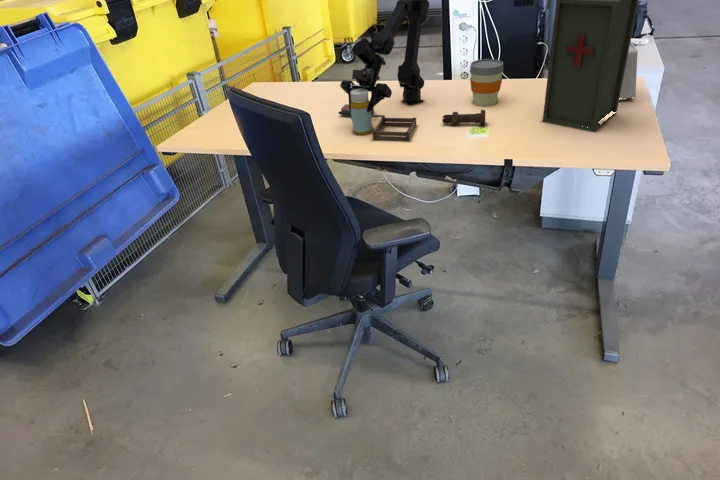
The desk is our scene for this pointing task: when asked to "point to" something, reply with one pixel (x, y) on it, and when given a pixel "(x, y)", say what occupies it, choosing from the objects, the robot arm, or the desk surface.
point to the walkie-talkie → (347, 112)
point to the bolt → (465, 118)
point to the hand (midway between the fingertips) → (358, 110)
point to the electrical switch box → (630, 74)
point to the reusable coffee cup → (486, 81)
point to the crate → (380, 134)
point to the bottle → (360, 112)
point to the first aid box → (587, 61)
